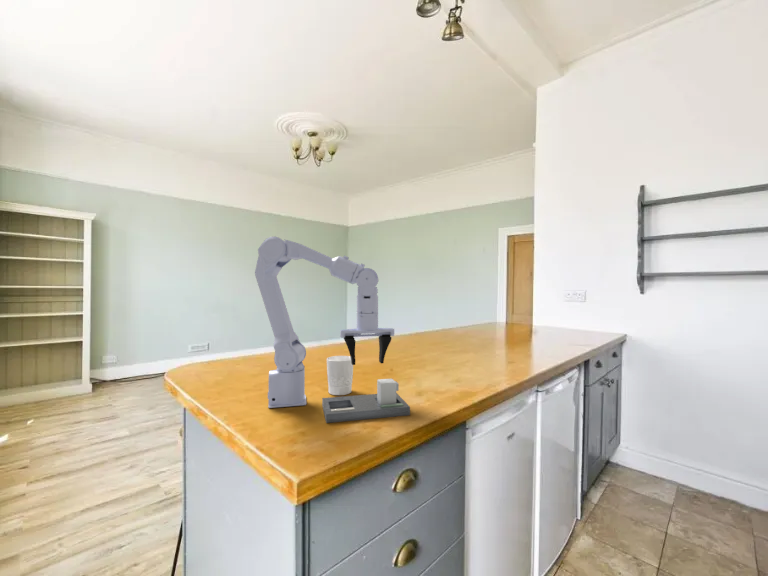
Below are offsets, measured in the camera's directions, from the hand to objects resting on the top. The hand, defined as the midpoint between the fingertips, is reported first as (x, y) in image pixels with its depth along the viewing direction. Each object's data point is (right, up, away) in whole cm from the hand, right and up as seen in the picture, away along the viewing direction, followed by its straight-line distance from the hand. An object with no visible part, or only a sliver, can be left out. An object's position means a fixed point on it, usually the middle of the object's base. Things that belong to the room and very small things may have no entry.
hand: (367, 363), depth 94 cm
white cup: (-9, -11, +9) cm, 16 cm away
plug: (+5, -10, -5) cm, 13 cm away
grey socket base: (-1, -10, -6) cm, 12 cm away
